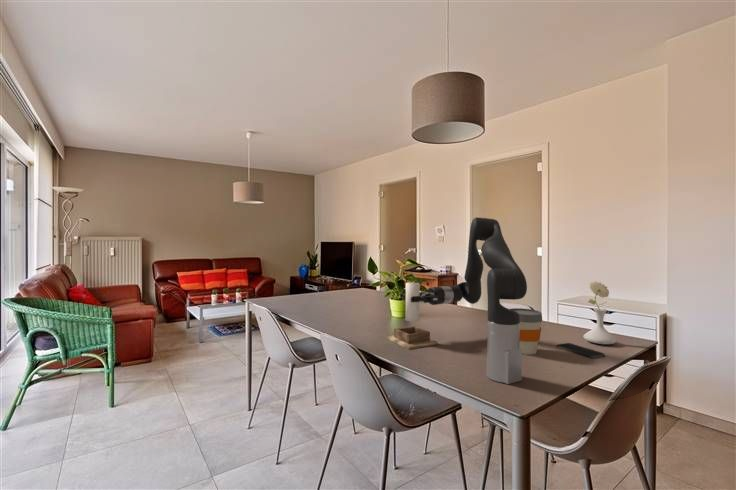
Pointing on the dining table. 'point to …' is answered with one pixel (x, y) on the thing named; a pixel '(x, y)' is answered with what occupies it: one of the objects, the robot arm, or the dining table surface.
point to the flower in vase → (599, 317)
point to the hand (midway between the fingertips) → (407, 298)
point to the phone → (580, 350)
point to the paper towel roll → (412, 307)
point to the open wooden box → (412, 337)
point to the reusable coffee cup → (529, 330)
